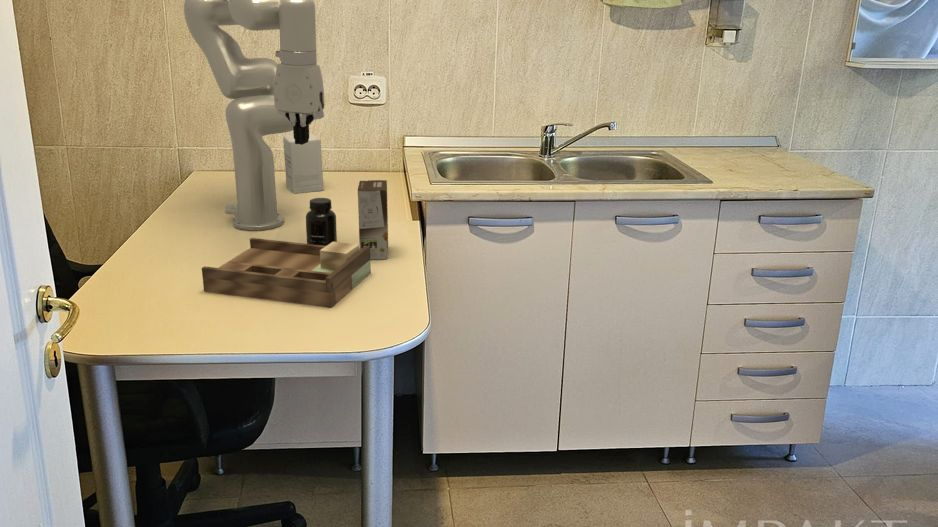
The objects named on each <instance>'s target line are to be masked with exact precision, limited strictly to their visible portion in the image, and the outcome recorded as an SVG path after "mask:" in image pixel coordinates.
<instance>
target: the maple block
mask: <svg viewBox="0 0 938 527" xmlns="http://www.w3.org/2000/svg"><path fill="white" fill-rule="evenodd" d="M359 250H360V244H354V243H348V242H339V241H337V242H332V243H330V244H329V245H327V246H326V247H324V248H323V249H321V250H320V266H321V269H327V270H334V271H335V270H336V269H337V268H338V267H340V266H341V265H342V264H343V263H345V262H346V261H347V260H348V259H350V258H351V257H352V256H353V255H355V254H356V253H357V252H358V251H359Z"/></svg>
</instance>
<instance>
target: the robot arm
mask: <svg viewBox="0 0 938 527" xmlns="http://www.w3.org/2000/svg"><path fill="white" fill-rule="evenodd" d="M183 12H184V19H185V22H186V25H187V28H188V30H189V33H190V34H191V37H192V38H193V40H194V42H195V43H196V45H198V47H199V48H200V50H202V52H203V54H204V56H205V57H206V60H207V62H208V64H209V67H210V69H211V72H212V74H213V76H214V79H215V81H216V84H217V86H218V88H219V91H220V92H221V94H222V95H223V96H224V97H225V98H227V99H229V100H232V101H230V102H229V103H228V104H227V106H226V108H225V121H226V124H227V127H228V132H229V136H230V142H231V148H232V154H233V155H232V158H233V166H234V167H233V168H234V179H235V190H236V191H235V192H236V201H237V205H236V204H229V203H228V204H226V205H225V210H224V213H225V214H227V215H233V216H234V217H233V219H232V226H233V227H234V228H237V229H239V230H242V231H243V230H244V231H264V230H269V229H275V228H278V227H280V226H282V225H283V224H284V223H285V217H284V216H283V215H282V214H280V213H278V203H277V202H278V201H277V190H276V189H277V188H276V175H275V162H274V161H275V160H274V158H275V157H274V154H273V150H272V149H271V147H270V146H269V145H268V143H267V142H266V141H265V140H264V139H263V137H265V136H268V135H276V134H283V133H290V132H292V131H293V134H292V135H294V139H295V144H300V145H303V144H305V143H307V142H308V140H309V134H310V125H311V124H312V122H314V120H321V119H323V118H324V117H325V113H324V109H325V90H324V82H323V76H322V70H321V68H320V65H319V64H317V61H318V60H317V59H318V58H317V57H318V56H317V27H316V26H317V24H316V22H317V21H316V5H315V2H314V1H313V0H184V3H183ZM235 25H236V26H240V27H242V28H243V29H246V30H248V31H255V32H256V31H258V32H259V31H260V32H261V31H278V30H279V31H278V32H279V47H280V48H279V50H276V51H275V52H274V55H275V58H279V63H277V61H275V60H273V59H272V58H268V57H256V58H250V57H249V58H248V57H246V56H245V55H244V54H243V52H242V48H241V47H240V44H239V43H238V41H237V40H236V39H235V38H233V36H232V35H231V34H229V33H228V32H227V31H225V30H223V29H222V28H221V27H220V26H223V27H224V26H235Z"/></svg>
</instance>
